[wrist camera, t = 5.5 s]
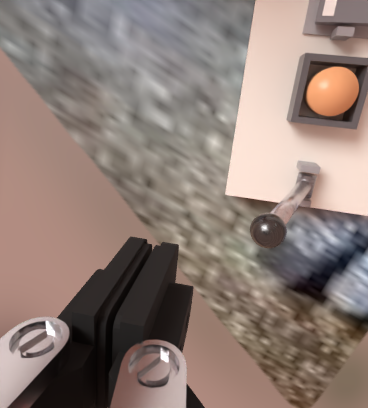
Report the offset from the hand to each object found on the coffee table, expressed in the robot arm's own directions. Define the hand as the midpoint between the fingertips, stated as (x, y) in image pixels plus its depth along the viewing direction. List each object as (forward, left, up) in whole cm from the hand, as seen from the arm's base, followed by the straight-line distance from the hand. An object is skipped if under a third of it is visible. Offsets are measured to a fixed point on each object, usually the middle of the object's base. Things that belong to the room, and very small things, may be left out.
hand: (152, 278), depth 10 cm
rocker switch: (-9, -14, -19) cm, 25 cm away
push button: (-9, -7, -20) cm, 23 cm away
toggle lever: (-9, +1, -19) cm, 21 cm away
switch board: (-9, -7, -24) cm, 26 cm away
